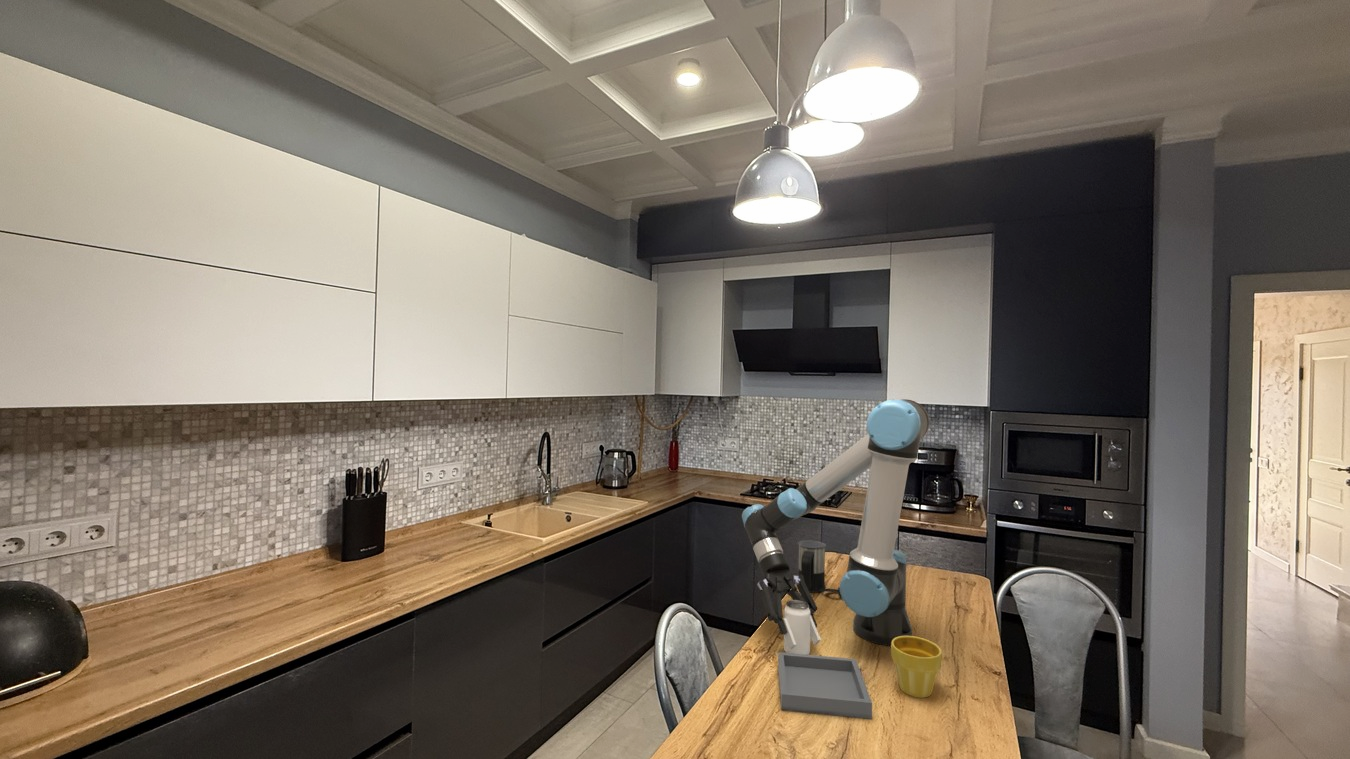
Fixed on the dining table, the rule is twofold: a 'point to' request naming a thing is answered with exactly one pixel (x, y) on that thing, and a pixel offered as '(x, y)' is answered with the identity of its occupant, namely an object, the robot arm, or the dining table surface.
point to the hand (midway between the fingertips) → (805, 644)
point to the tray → (823, 686)
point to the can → (798, 626)
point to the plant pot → (916, 664)
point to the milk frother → (813, 566)
